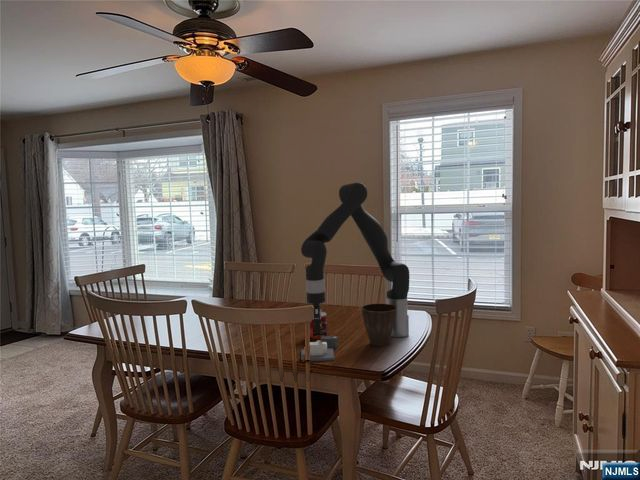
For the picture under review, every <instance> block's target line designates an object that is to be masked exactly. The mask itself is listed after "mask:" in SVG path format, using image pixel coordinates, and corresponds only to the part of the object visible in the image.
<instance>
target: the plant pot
mask: <svg viewBox="0 0 640 480" xmlns="http://www.w3.org/2000/svg"><path fill="white" fill-rule="evenodd" d="M396 310H397V307H396V306H393V305H390V304H387V303H369V304H364V305H362V306H361V313H362V319H363V323H364V328H365V331H366V334H367V337H368V340H369V342H370V344H371V345H372V346H375V347H385V346H388V345H389V343H390V340H391V337H392V336H391V334H392V331H393V327H394V322H395V317H396Z"/></svg>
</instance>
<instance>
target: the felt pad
mask: <svg viewBox="0 0 640 480" xmlns="http://www.w3.org/2000/svg"><path fill="white" fill-rule="evenodd" d="M300 353H301V355H300V361H301V360H302V359H304V357H305V348H304V349H301V352H300ZM320 361H321V362H322V361H327V362H328V361H335V353H334V348H327V354H326V355H310V361H309V362H320Z"/></svg>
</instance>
